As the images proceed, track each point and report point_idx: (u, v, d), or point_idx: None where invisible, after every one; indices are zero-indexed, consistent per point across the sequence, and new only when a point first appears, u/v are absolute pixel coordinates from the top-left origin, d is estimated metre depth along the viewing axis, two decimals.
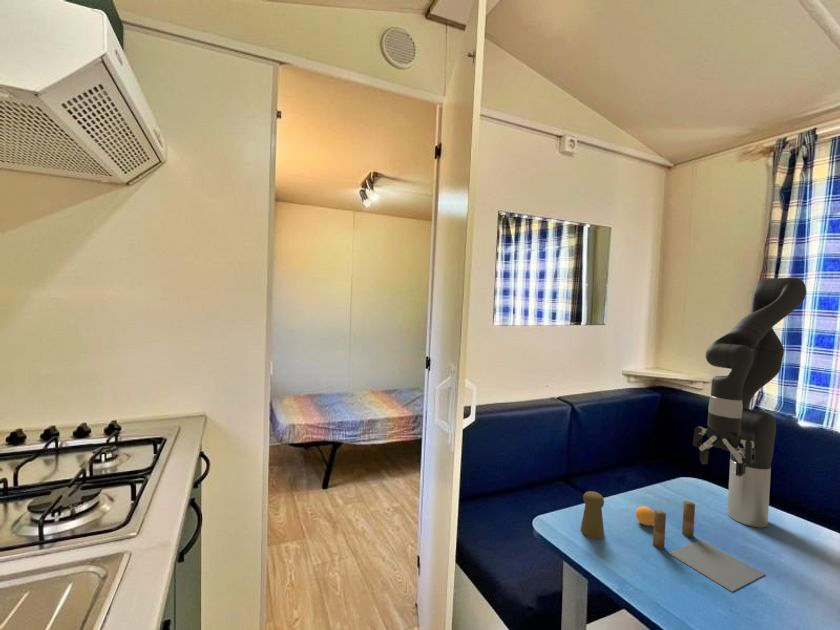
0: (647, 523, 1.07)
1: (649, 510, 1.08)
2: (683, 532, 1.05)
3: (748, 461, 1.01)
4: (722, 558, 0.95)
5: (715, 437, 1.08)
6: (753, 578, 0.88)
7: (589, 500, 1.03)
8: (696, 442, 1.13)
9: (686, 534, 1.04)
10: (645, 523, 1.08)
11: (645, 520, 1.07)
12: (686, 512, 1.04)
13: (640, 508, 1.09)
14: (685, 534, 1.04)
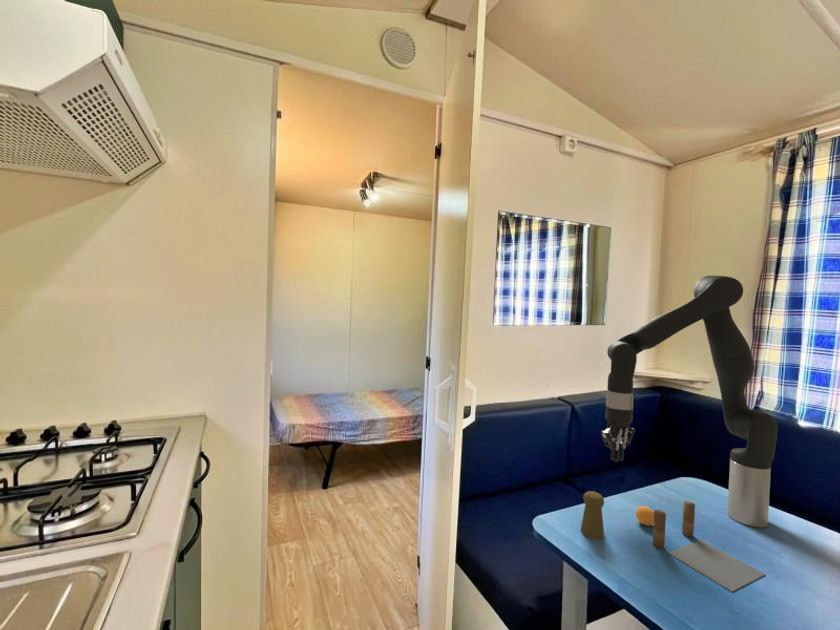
0: (647, 523, 1.07)
1: (649, 510, 1.08)
2: (683, 532, 1.05)
3: (628, 444, 1.18)
4: (722, 558, 0.95)
5: (621, 430, 1.15)
6: (753, 578, 0.88)
7: (589, 500, 1.03)
8: None
9: (686, 534, 1.04)
10: (645, 523, 1.08)
11: (645, 520, 1.07)
12: (686, 512, 1.04)
13: (640, 508, 1.09)
14: (685, 534, 1.04)
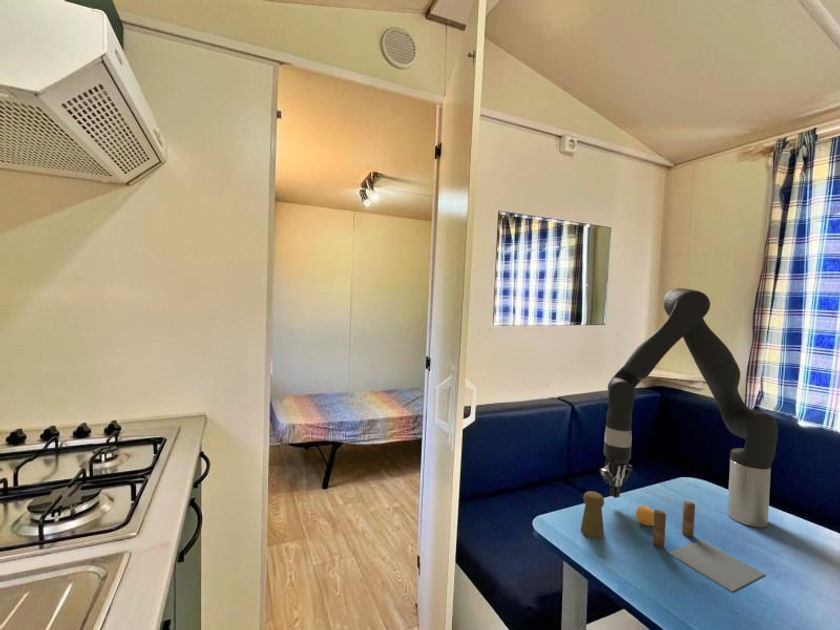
0: (647, 523, 1.07)
1: (649, 510, 1.08)
2: (683, 532, 1.05)
3: (625, 481, 1.18)
4: (722, 558, 0.95)
5: (619, 467, 1.15)
6: (753, 578, 0.88)
7: (589, 500, 1.03)
8: (614, 481, 1.16)
9: (686, 534, 1.04)
10: (645, 523, 1.08)
11: (645, 520, 1.07)
12: (686, 512, 1.04)
13: (640, 508, 1.09)
14: (685, 534, 1.04)
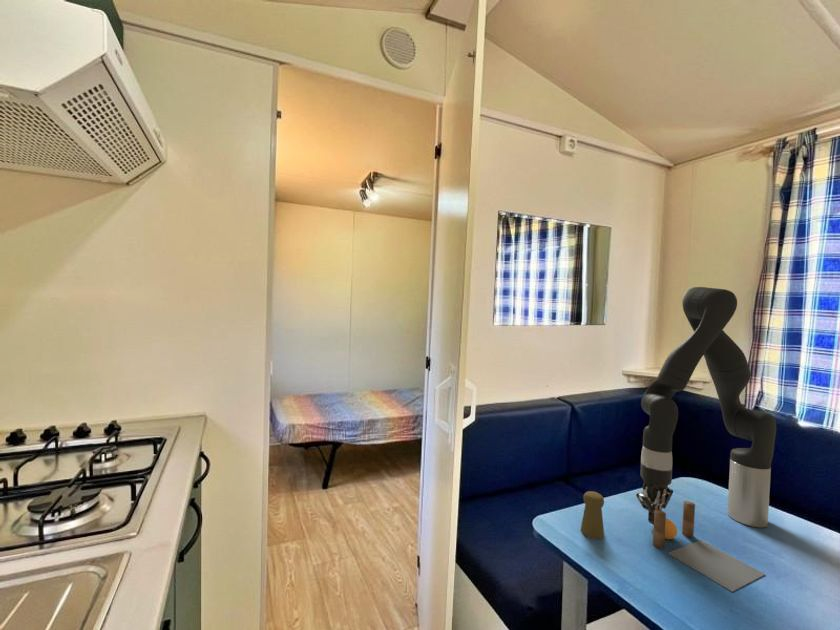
0: None
1: None
2: (683, 532, 1.05)
3: (664, 506, 1.07)
4: (722, 558, 0.95)
5: (659, 491, 1.05)
6: (753, 578, 0.88)
7: (589, 500, 1.03)
8: (653, 507, 1.05)
9: (686, 534, 1.04)
10: None
11: None
12: (686, 512, 1.04)
13: (669, 535, 1.01)
14: (685, 534, 1.04)
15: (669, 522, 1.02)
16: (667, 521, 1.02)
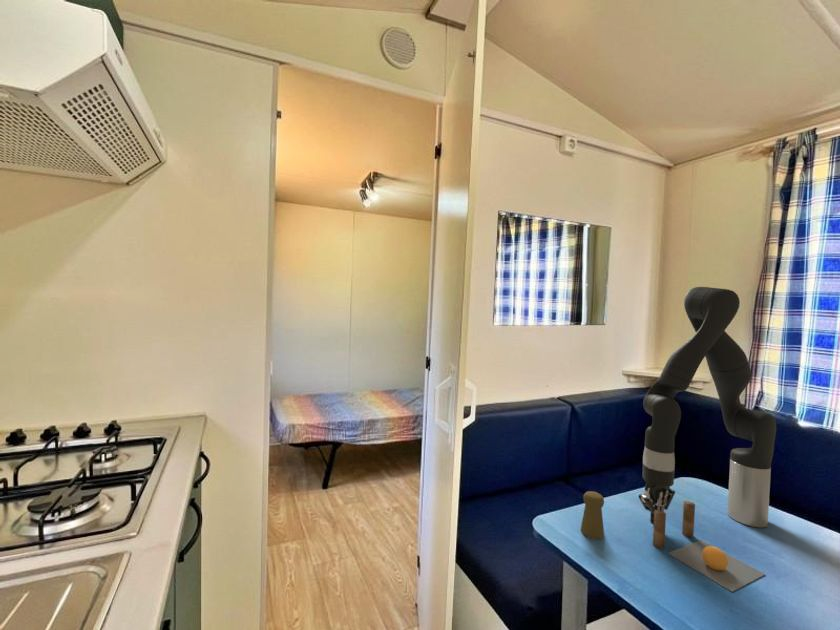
0: None
1: (725, 563, 0.89)
2: (683, 532, 1.05)
3: None
4: None
5: (661, 493, 1.04)
6: (753, 578, 0.88)
7: (589, 500, 1.03)
8: (655, 508, 1.04)
9: (686, 534, 1.04)
10: None
11: (713, 567, 0.90)
12: (686, 512, 1.04)
13: (716, 555, 0.90)
14: (685, 534, 1.04)
15: (706, 547, 0.93)
16: (704, 548, 0.93)
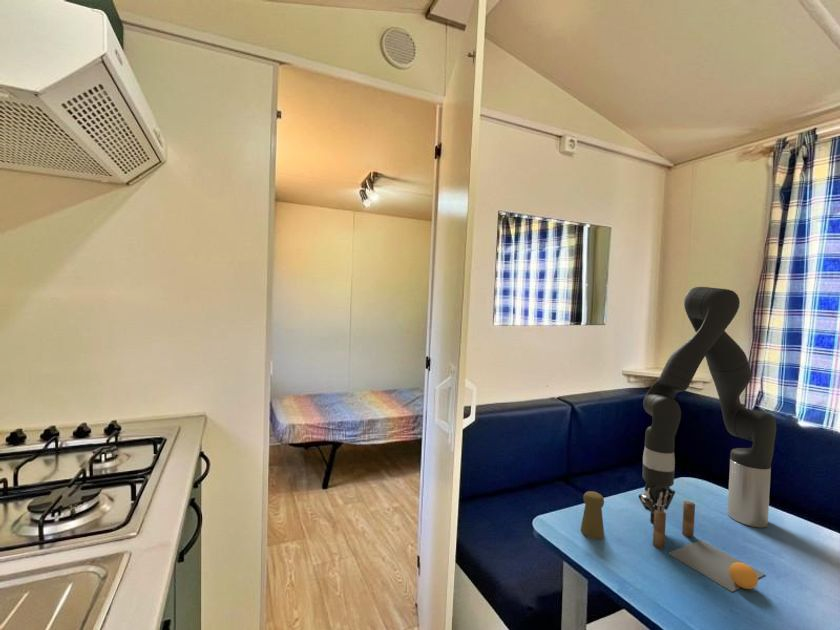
0: (732, 565, 0.86)
1: None
2: (683, 532, 1.05)
3: None
4: (722, 558, 0.95)
5: (661, 493, 1.04)
6: None
7: (589, 500, 1.03)
8: (655, 508, 1.04)
9: (686, 534, 1.04)
10: (734, 566, 0.86)
11: (730, 570, 0.86)
12: (686, 512, 1.04)
13: None
14: (685, 534, 1.04)
15: (755, 583, 0.83)
16: (754, 581, 0.83)
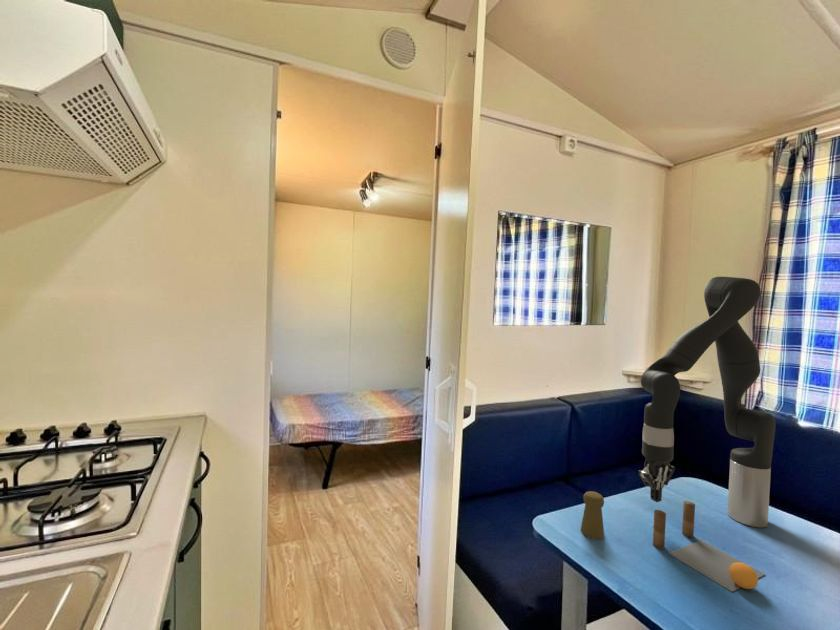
0: (732, 565, 0.86)
1: None
2: (683, 532, 1.05)
3: (666, 483, 1.07)
4: (722, 558, 0.95)
5: (660, 468, 1.04)
6: None
7: (589, 500, 1.03)
8: (655, 483, 1.05)
9: (686, 534, 1.04)
10: (734, 566, 0.86)
11: (730, 570, 0.86)
12: (686, 512, 1.04)
13: None
14: (685, 534, 1.04)
15: (755, 583, 0.83)
16: (754, 581, 0.83)
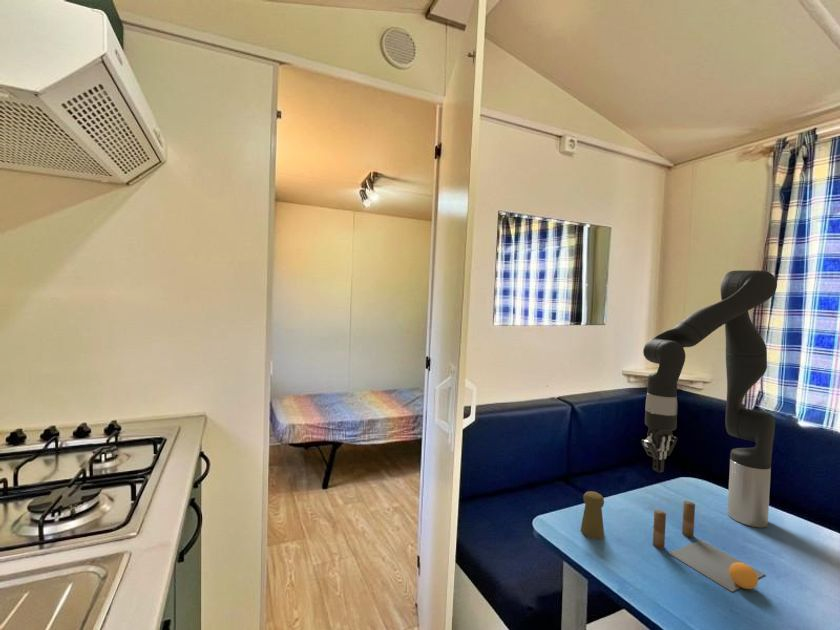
0: (732, 565, 0.86)
1: None
2: (683, 532, 1.05)
3: None
4: (722, 558, 0.95)
5: (664, 437, 1.04)
6: None
7: (589, 500, 1.03)
8: (658, 453, 1.04)
9: (686, 534, 1.04)
10: (734, 566, 0.86)
11: (730, 570, 0.86)
12: (686, 512, 1.04)
13: None
14: (685, 534, 1.04)
15: (755, 583, 0.83)
16: (754, 581, 0.83)
